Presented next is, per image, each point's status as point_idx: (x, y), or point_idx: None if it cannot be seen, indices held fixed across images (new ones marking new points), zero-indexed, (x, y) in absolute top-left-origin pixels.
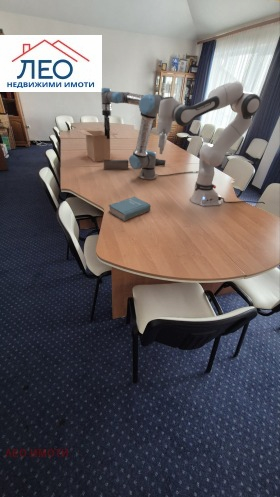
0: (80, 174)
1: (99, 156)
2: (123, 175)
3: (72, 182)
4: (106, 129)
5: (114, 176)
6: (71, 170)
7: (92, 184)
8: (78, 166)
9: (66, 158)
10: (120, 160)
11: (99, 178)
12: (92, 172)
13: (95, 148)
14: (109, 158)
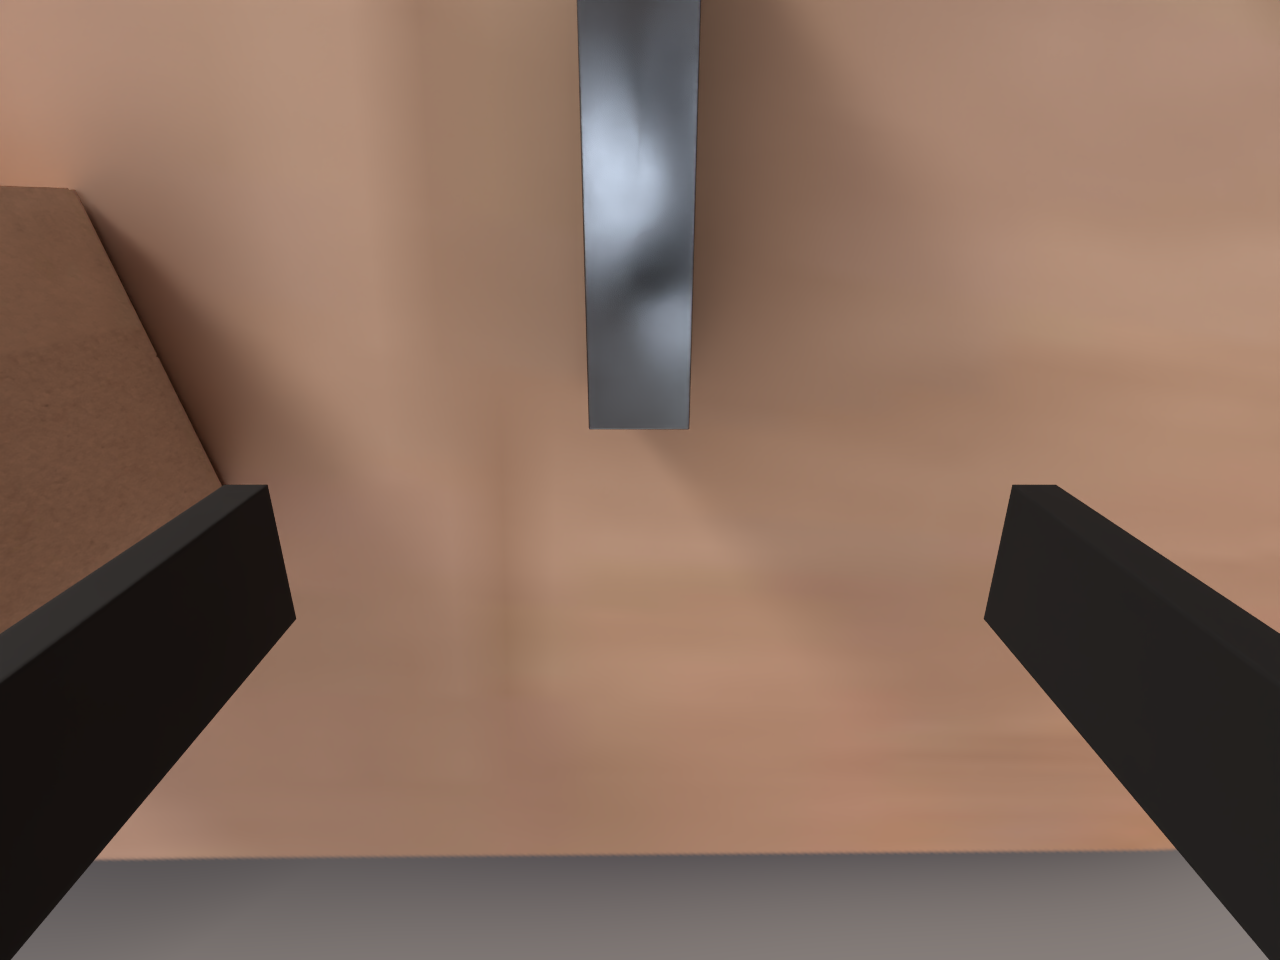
0: (841, 706)
1: (131, 433)
2: (1035, 82)
3: (1094, 786)
4: (19, 765)
5: (1039, 265)
6: (670, 790)
7: (1244, 602)
8: (500, 716)
9: (133, 836)
10: (660, 26)
11: None
12: (784, 567)
13: (46, 574)
14: (57, 208)
